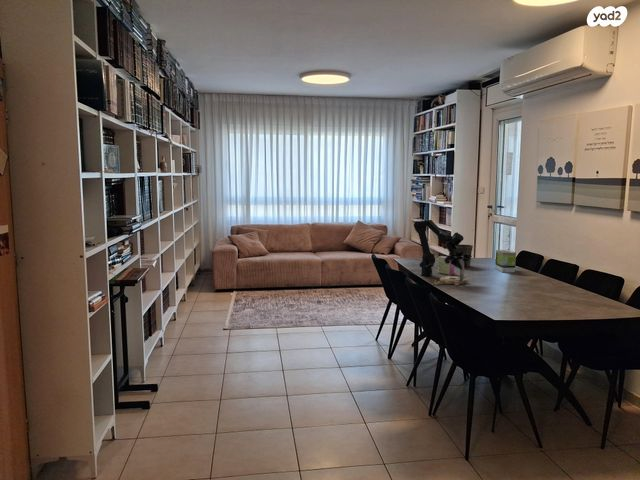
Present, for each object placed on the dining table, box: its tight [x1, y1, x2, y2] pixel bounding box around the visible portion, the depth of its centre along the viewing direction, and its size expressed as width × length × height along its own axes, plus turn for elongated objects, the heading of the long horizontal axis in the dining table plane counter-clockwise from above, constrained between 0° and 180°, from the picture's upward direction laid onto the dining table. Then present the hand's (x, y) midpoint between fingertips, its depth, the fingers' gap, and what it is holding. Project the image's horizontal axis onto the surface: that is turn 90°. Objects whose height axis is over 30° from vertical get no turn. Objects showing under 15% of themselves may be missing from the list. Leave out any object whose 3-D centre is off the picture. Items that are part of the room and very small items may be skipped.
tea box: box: [494, 249, 517, 273], centre depth 363 cm, size 15×10×15 cm
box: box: [437, 255, 455, 276], centre depth 354 cm, size 10×6×12 cm, turn 40°
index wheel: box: [435, 261, 470, 286], centre depth 323 cm, size 19×21×15 cm
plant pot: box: [456, 243, 474, 268], centre depth 382 cm, size 16×16×16 cm
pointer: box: [433, 280, 442, 286], centre depth 318 cm, size 5×2×2 cm, turn 118°
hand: (464, 268), depth 315 cm, fingers open, 4 cm apart
